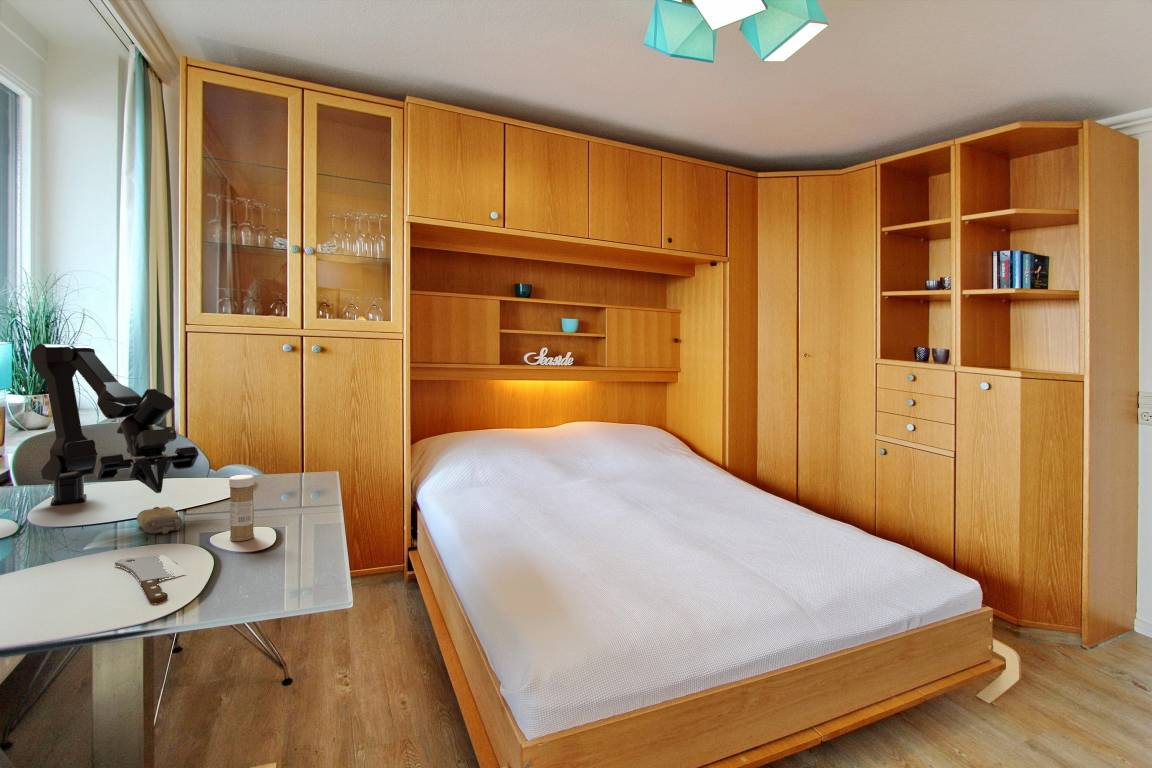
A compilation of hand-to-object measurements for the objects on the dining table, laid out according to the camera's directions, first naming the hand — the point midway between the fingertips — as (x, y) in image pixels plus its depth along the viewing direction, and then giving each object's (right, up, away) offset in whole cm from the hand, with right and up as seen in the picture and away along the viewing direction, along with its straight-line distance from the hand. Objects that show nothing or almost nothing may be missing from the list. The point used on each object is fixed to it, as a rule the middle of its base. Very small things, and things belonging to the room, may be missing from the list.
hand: (159, 492), depth 129 cm
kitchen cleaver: (+20, -10, -27) cm, 35 cm away
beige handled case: (-1, -5, +1) cm, 6 cm away
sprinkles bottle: (+23, -9, -7) cm, 25 cm away
